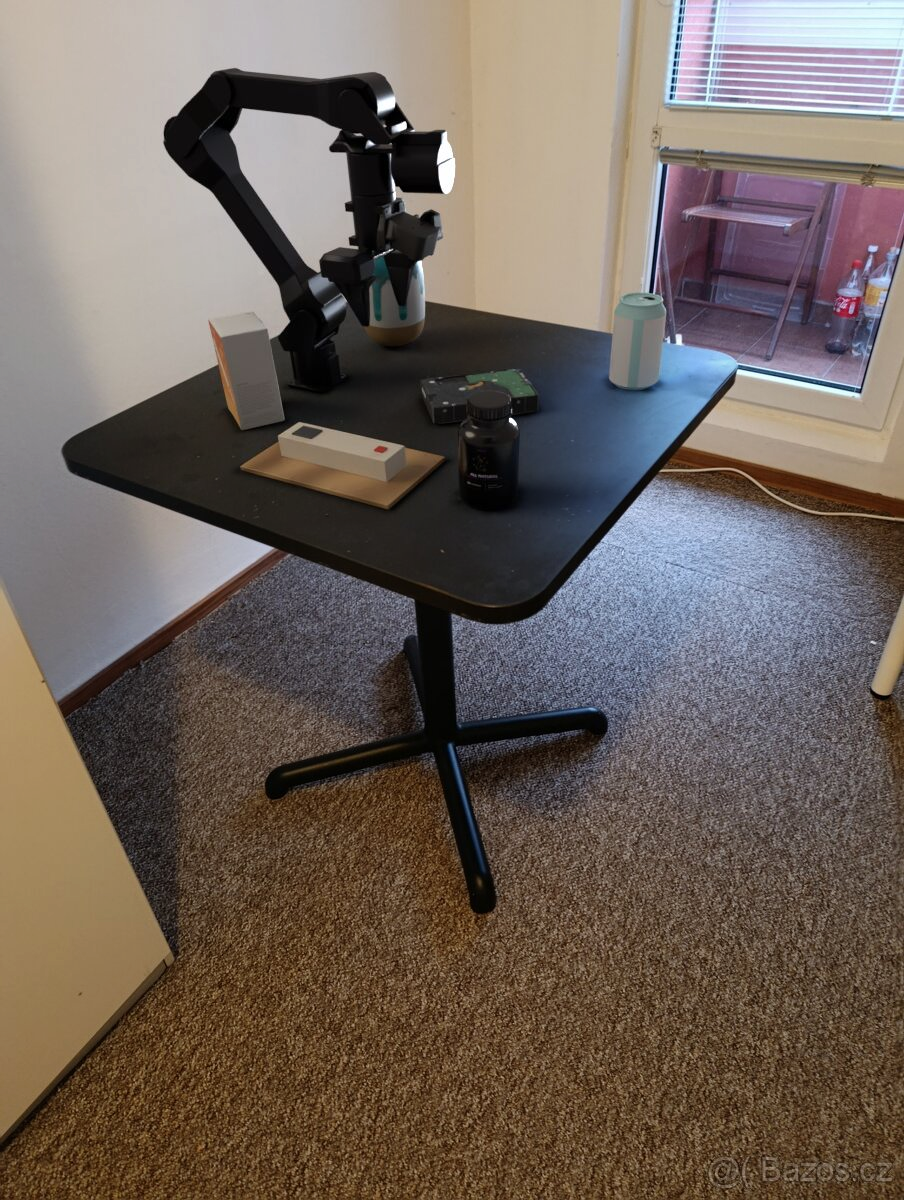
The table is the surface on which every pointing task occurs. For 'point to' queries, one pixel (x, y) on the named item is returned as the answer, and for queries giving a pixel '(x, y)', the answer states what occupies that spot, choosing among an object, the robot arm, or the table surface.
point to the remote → (343, 451)
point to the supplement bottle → (488, 452)
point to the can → (637, 341)
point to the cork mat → (345, 476)
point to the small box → (247, 369)
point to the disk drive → (452, 392)
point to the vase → (395, 308)
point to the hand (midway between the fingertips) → (384, 315)
